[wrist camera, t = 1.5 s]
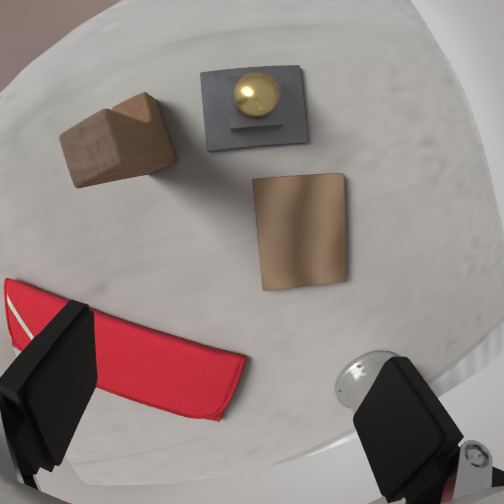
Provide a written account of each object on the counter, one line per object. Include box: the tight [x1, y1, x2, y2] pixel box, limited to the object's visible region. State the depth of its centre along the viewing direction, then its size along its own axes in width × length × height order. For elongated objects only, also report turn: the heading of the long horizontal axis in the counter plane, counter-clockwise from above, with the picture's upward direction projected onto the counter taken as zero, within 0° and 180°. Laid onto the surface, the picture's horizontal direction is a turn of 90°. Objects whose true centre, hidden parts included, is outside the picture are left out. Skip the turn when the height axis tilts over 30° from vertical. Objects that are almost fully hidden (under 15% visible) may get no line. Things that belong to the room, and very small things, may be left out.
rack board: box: [253, 173, 346, 291], centre depth 38 cm, size 11×14×2 cm
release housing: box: [200, 65, 308, 151], centre depth 32 cm, size 12×10×4 cm
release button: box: [234, 72, 280, 117], centre depth 28 cm, size 4×4×2 cm
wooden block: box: [59, 92, 177, 188], centre depth 26 cm, size 9×4×18 cm, turn 19°
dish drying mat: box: [4, 278, 247, 422], centre depth 42 cm, size 16×41×4 cm, turn 72°
